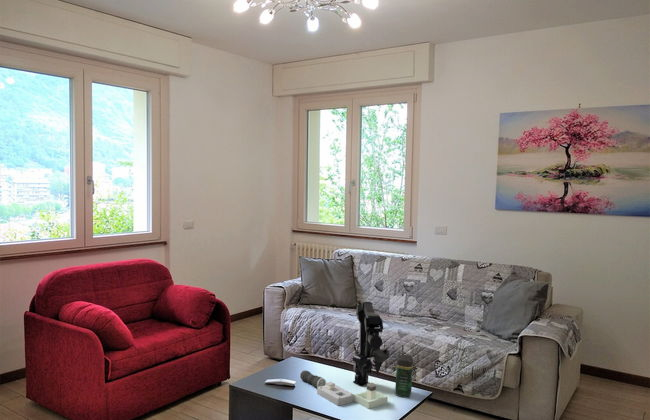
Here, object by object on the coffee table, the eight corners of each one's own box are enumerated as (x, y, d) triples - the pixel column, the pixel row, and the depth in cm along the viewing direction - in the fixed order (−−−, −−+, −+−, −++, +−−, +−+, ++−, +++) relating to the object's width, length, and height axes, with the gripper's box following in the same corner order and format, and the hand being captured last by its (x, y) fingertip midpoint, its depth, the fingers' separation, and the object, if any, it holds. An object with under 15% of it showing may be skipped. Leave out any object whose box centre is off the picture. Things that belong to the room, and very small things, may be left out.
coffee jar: (410, 398, 244) (412, 360, 243) (393, 396, 246) (395, 358, 246) (412, 391, 253) (414, 355, 252) (396, 389, 255) (398, 352, 255)
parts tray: (372, 395, 245) (373, 389, 245) (387, 403, 237) (387, 396, 237) (354, 400, 238) (354, 394, 238) (368, 408, 230) (368, 402, 230)
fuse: (330, 392, 246) (331, 381, 246) (334, 394, 244) (335, 383, 244) (325, 393, 245) (326, 382, 244) (329, 396, 242) (330, 384, 242)
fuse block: (333, 389, 251) (333, 382, 250) (354, 400, 238) (354, 393, 238) (316, 393, 244) (317, 386, 244) (337, 405, 232) (337, 398, 232)
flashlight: (298, 380, 261) (299, 370, 261) (307, 378, 264) (307, 368, 264) (317, 390, 249) (317, 379, 249) (325, 388, 252) (326, 377, 252)
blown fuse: (370, 398, 240) (371, 382, 239) (375, 401, 237) (376, 384, 237) (366, 400, 238) (367, 383, 238) (370, 402, 235) (371, 385, 235)
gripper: (369, 349, 225) (367, 384, 226) (398, 343, 237) (396, 376, 237) (352, 342, 234) (350, 376, 235) (381, 337, 246) (379, 368, 246)
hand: (370, 374), depth 238 cm, fingers open, 9 cm apart
